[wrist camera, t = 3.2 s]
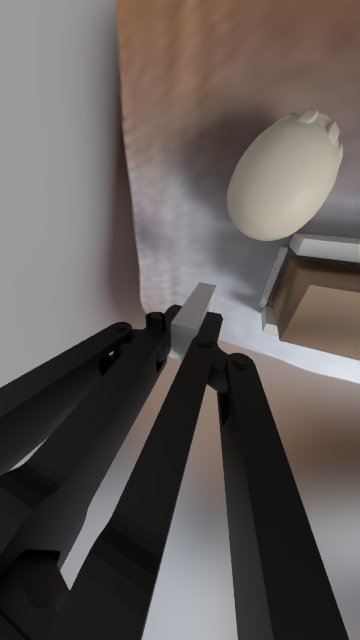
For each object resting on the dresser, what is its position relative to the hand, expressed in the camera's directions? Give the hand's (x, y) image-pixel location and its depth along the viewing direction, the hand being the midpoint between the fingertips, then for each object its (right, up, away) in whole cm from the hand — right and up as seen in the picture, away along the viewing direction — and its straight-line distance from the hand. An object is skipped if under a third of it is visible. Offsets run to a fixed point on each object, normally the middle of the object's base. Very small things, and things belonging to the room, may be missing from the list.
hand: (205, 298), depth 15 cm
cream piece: (+6, +10, 0) cm, 12 cm away
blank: (+14, +1, +3) cm, 14 cm away
